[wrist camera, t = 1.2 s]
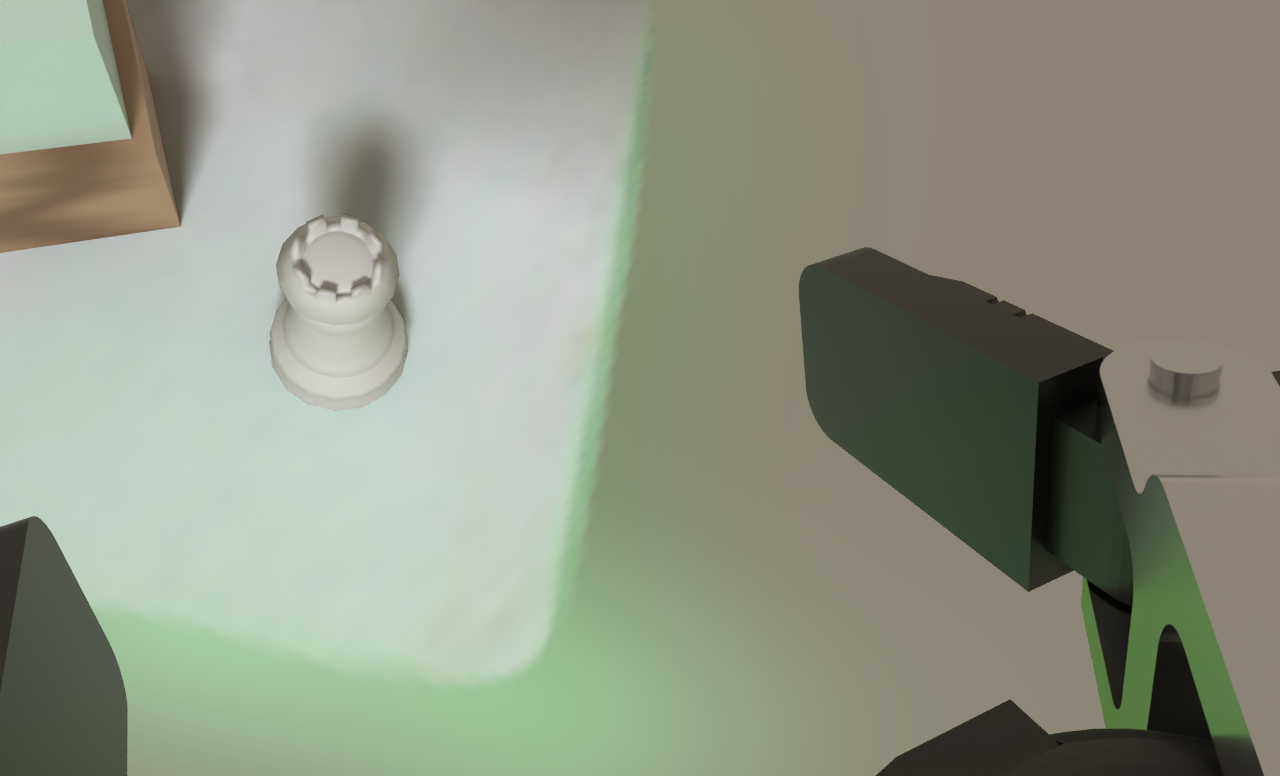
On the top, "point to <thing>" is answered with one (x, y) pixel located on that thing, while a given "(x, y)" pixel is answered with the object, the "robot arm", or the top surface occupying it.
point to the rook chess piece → (338, 314)
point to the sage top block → (58, 76)
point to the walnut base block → (93, 170)
